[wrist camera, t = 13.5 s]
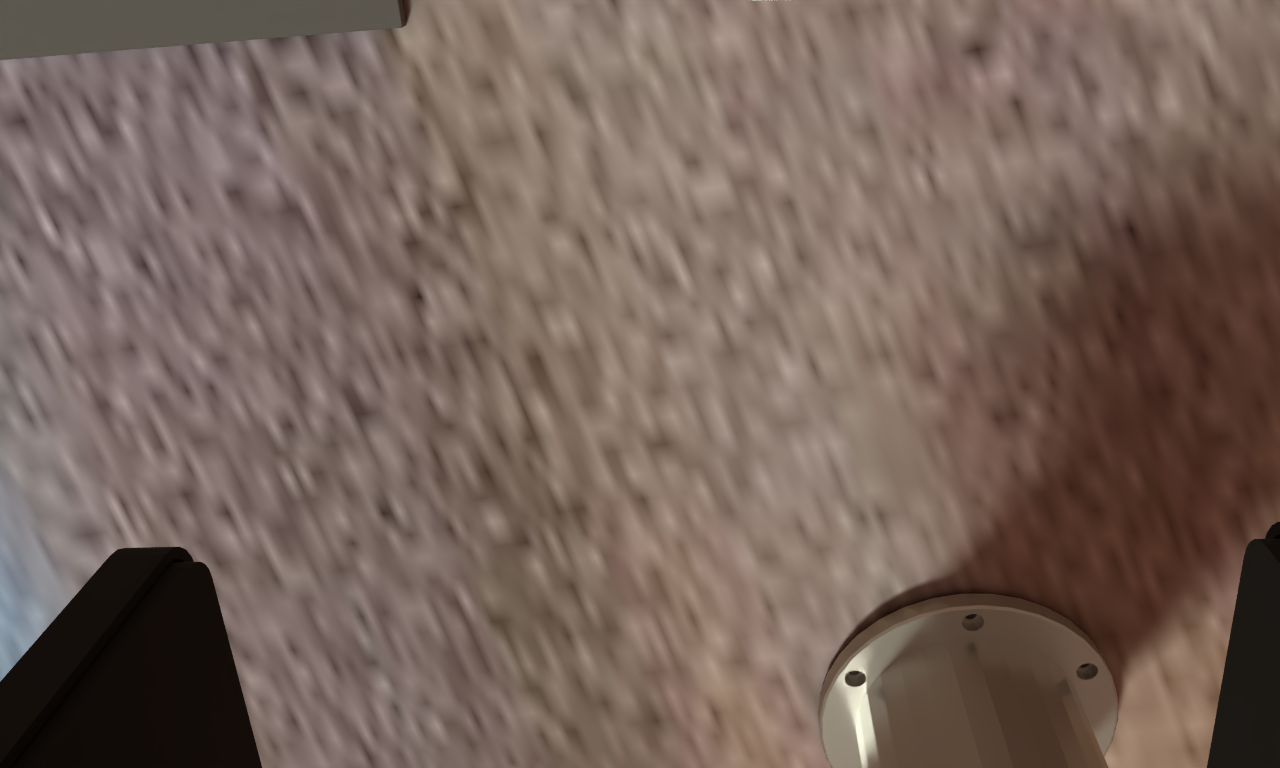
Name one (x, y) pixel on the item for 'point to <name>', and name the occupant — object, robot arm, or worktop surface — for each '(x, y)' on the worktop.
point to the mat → (176, 22)
